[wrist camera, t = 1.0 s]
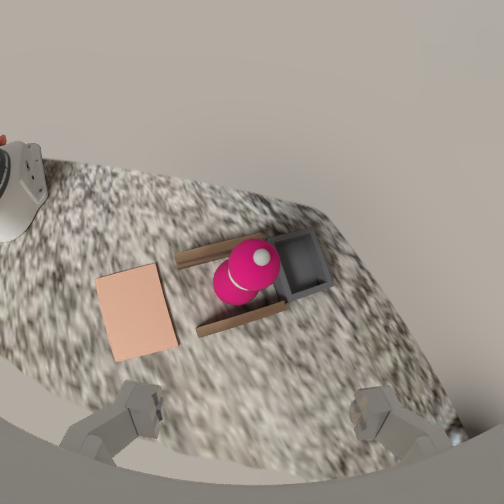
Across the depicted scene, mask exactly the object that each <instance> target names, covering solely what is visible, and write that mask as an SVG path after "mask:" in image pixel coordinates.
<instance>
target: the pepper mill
mask: <svg viewBox="0 0 504 504" xmlns="http://www.w3.org/2000/svg"><path fill="white" fill-rule="evenodd" d="M279 272H280V258H279V255H278V253H277V251H276V249H275V248H274V247H273V246H272V245H271V244H270V243H268V242H267V241H265V240H262V239H255V238H252V239H247V240H244V241H242V242H240V243H239V244H238V245H237V246H236V247H235V248H234V249H233V250H232V252H231V254H230V257H229V259H228V260H226V261H224V262H223V263H222V264H221V265H220V266H219V267H218V268H217V270H216V272H215V274H214V279H213V284H214V289H215V293H216V295H217V296H218V297H219V299H220V300H222V301H223V302H225V303H228V304H232V305H242V304H246V303H248V302H249V301H251V300H252V299H253V298H254V297H255V296H256V295H257V293H258V291H259V290H262V289H265V288H267V287H268V286H270V285H271V284H272V283H273V282H274V281H275V280H276V278H277V277H278V275H279Z"/></svg>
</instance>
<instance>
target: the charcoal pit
mask: <svg viewBox="0 0 504 504" xmlns="http://www.w3.org/2000/svg"><path fill="white" fill-rule="evenodd" d="M265 241H267V242H268V243H270V244H271V245H272V246H273V247H274V248H275V249H276V251H277V253H278V255H279V258H280V272H279V275H278V277H277V278H276V280H275V281H274V282H273V284H274V287H275V290H276V293H277V296H278V299H279V302H281V301H284V302H285V303H288V302H291V301H294V300H296V299H299V298H302V297H305V296H308V295H311V294H313V293H316V292H319V291H322V290H324V289H327V288H330V287H332V286H334V284H333V281H332V278H331V275H330V272H329V269H328V266H327V264H326V261H325V258H324V255H323V252H322V250H321V247H320V244H319V242H318V239H317V236H316V234H315V231H314V228H313V227H310V228H306V229H302V230H298V231H294V232H290V233H286V234H282V235H278V236H274V237H270V238H267V239H266V240H265Z"/></svg>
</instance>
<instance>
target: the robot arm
mask: <svg viewBox="0 0 504 504" xmlns="http://www.w3.org/2000/svg"><path fill="white" fill-rule="evenodd" d="M0 146H2V147H0V241H1V242H8V241H12V240H14V239H16V238H17V237H19V236H20V235H21V234H22V233H23V232H24V231H25V230H26V229H27V228H28V226H29V225H30V224H31V222H32V220H33V218H34V216H35V214H36V212H37V210H38V208H39V207H40V206H41V205H42V204H43V203H44V202H45V200H46V199H47V197H48V191H47V186H46V180H45V175H44V169H43V162H42V155H41V148H40V146H39V145H38V144H35V143H30V144H25V143H23V142H20V141H15V142H11V143H8V144H6V137H5V136H4V135H2V136H0ZM41 190H42V191H41ZM161 395H162V389H161V386H159V385H153V384H147V383H142V382H136V381H131V380H126V381H125V382H124V383H123V385H122V387H121V389H120V391H119V393H118V395H117V397H116V399H115V401H114V403H113V405H108V406H106V407H104V408H102V409H101V410H99V411H97V412H95V413H94V414H92V415H90V416H88V417H86V418H85V419H83V420H81V421H79V422H77V423H75V424H73V425H71V426H70V427H69V429H68V430H67V433H66V434H65V436H64V438H63V440H62V441H61V443H60V445H59V446H57V445H54V444H52V443H50V442H47V441H45V440H43V439H41V438H38V437H37V436H35V435H33V434H30V433H28V432H26V431H25V430H23V429H20V428H19V427H17V426H15V425H13V424H11V423H10V422H8V421H6V420H5V419H3V418H1V417H0V504H504V423H502V424H500V425H498V426H496V427H494V428H492V429H490V430H488V431H486V432H484V433H482V434H480V435H478V436H476V437H474V438H472V439H470V440H468V441H466V442H463V443H461V444H459V445H456V446H454V447H453V445H452V443H451V442H450V440H449V438H448V437H447V435H446V433H445V431H444V430H443V429H442V428H440V427H438V426H436V425H435V424H433V423H431V422H429V421H427V420H426V419H424V418H422V417H420V416H418V415H417V414H415V413H413V412H411V411H410V410H408V409H406V408H405V409H403V408H402V406H401V404H400V402H399V400H398V399H397V397H396V395H395V393H394V392H393V390H392V388H391V387H390V386H389V385H385V386H379V387H371V388H364V389H358V390H357V391H356V392H355V395H354V396H355V400H354V401H353V402H352V403H351V406H350V411H349V414H350V419H351V422H352V423H354V424H355V425H356V426H355V428H354V431H355V433H356V436H357V439H358V440H363V439H370V438H375V439H376V440H378V441H379V442H380V443H381V444H382V445H383V446H385V447H386V448H387V449H388V450H389V451H391V452H392V453H393V454H394V455H395V456H397V457H398V458H399V459H400V460H401V461H400V462H399V464H398V465H397V466H396V467H392V468H388V469H385V470H381V471H376V472H372V473H367V474H363V475H358V476H352V477H347V478H341V479H334V480H327V481H319V482H310V483H299V484H283V485H230V484H229V485H228V484H215V483H203V482H194V481H186V480H179V479H172V478H166V477H161V476H156V475H151V474H146V473H141V472H137V471H133V470H129V469H125V468H121V467H117V466H116V464H115V463H114V461H113V459H112V457H114V456H115V455H116V454H118V453H119V452H120V451H121V450H122V449H124V448H125V447H126V446H127V445H129V444H130V443H131V442H132V441H133V440H134V439H136V438H137V437H138V436H143V437H149V438H155V439H157V438H158V434H159V431H160V423H159V422H160V421H161V420H163V417H164V411H165V403H164V399H163V398H162V397H161Z"/></svg>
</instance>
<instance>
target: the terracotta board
mask: <svg viewBox="0 0 504 504" xmlns="http://www.w3.org/2000/svg"><path fill="white" fill-rule="evenodd" d="M95 283H96V288H97V293H98V298H99V302H100V306H101V311H102V315H103V319H104V323H105V327H106V330H107V334H108V338H109V341H110V345H111V348H112V352H113V355H114V358H115V361H116V362H117V361H121V360H126V359H130V358H134V357H138V356H142V355H146V354H150V353H154V352H158V351H162V350H165V349H169V348H173V347H176V346H179V345H178V342H177V339H176V336H175V333H174V329H173V326H172V323H171V319H170V316H169V313H168V309H167V306H166V302H165V299H164V295H163V291H162V288H161V284H160V280H159V276H158V272H157V268H156V264H155V263H154V264H150V265H146V266H142V267H139V268H135V269H131V270H127V271H123V272H120V273H116V274H112V275H109V276H105V277H101V278H97V279H95Z"/></svg>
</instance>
